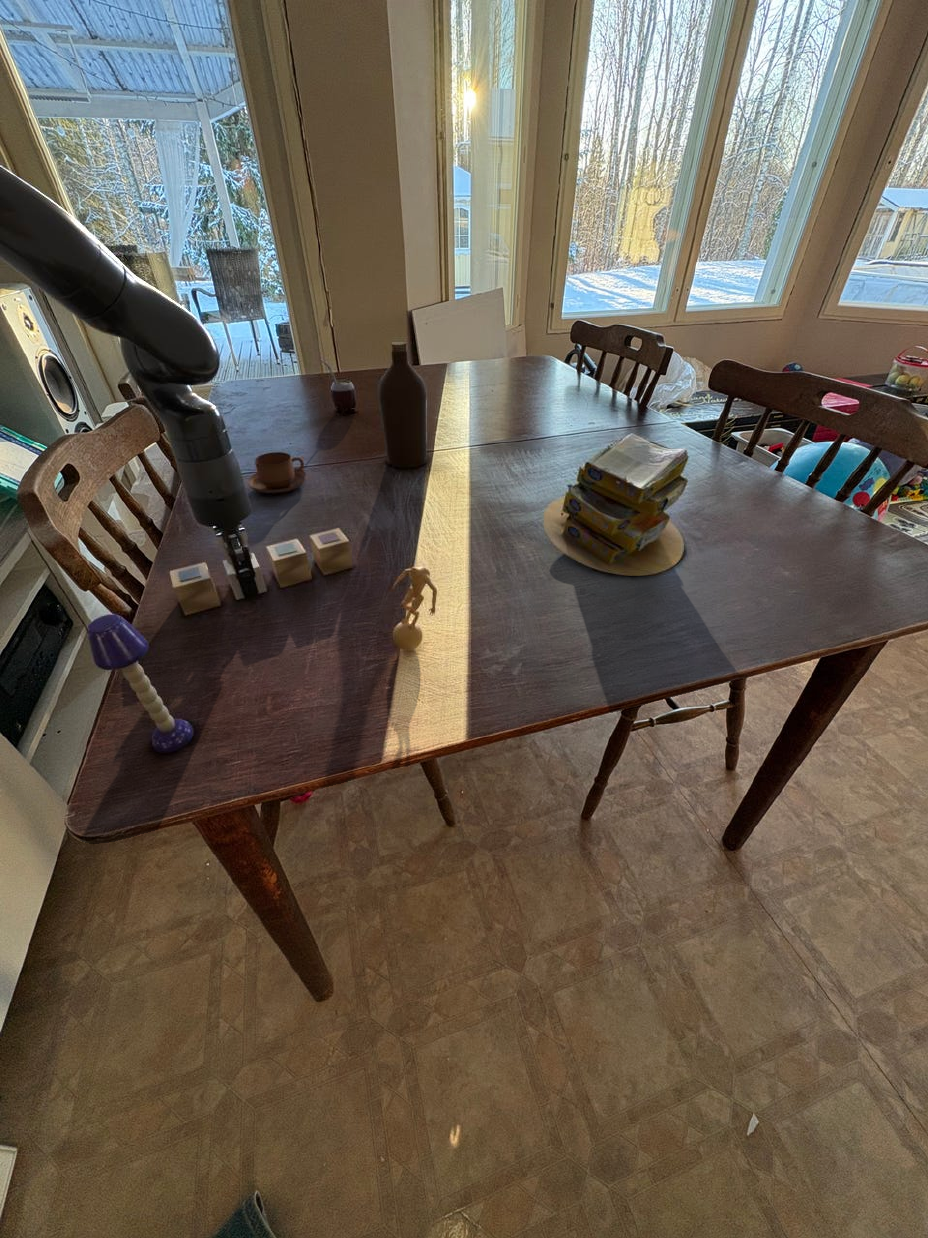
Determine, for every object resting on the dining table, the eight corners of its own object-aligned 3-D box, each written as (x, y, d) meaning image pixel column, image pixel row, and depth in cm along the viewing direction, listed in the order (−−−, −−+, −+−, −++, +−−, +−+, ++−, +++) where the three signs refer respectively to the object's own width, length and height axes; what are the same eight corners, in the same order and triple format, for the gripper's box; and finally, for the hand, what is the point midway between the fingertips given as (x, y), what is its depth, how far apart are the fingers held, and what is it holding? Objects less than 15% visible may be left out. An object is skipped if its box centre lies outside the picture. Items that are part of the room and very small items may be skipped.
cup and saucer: (283, 471, 117) (276, 444, 113) (319, 483, 111) (314, 455, 108) (238, 489, 109) (230, 461, 105) (275, 503, 104) (268, 474, 100)
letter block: (236, 600, 78) (227, 574, 75) (230, 585, 81) (222, 560, 78) (267, 591, 80) (259, 565, 77) (260, 577, 83) (252, 552, 80)
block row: (185, 615, 75) (172, 587, 72) (181, 598, 78) (169, 570, 75) (353, 567, 85) (349, 540, 82) (343, 553, 88) (338, 527, 85)
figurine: (378, 638, 71) (368, 565, 63) (413, 620, 74) (407, 548, 66) (416, 669, 66) (409, 593, 59) (451, 648, 69) (449, 574, 62)
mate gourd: (360, 408, 154) (353, 353, 144) (352, 416, 148) (345, 359, 138) (336, 407, 154) (328, 352, 145) (328, 415, 148) (318, 358, 139)
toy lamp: (143, 758, 55) (68, 642, 45) (152, 726, 59) (84, 611, 48) (191, 748, 56) (128, 633, 46) (196, 717, 60) (139, 603, 49)
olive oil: (396, 473, 115) (385, 350, 100) (377, 458, 123) (364, 341, 107) (437, 463, 120) (433, 344, 104) (417, 449, 127) (410, 336, 111)
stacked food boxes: (713, 550, 89) (746, 456, 78) (608, 593, 79) (629, 492, 68) (612, 497, 105) (628, 414, 95) (514, 527, 95) (520, 438, 85)
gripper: (178, 471, 73) (215, 572, 84) (192, 511, 63) (231, 619, 74) (232, 461, 76) (261, 559, 87) (254, 498, 66) (283, 603, 77)
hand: (247, 586), depth 80 cm, fingers closed on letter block, 4 cm apart
